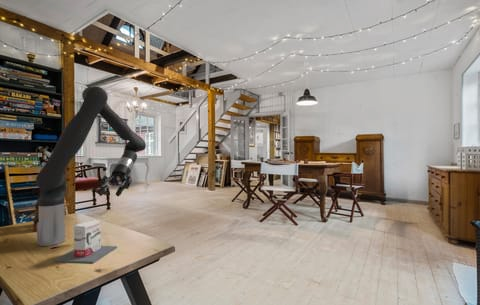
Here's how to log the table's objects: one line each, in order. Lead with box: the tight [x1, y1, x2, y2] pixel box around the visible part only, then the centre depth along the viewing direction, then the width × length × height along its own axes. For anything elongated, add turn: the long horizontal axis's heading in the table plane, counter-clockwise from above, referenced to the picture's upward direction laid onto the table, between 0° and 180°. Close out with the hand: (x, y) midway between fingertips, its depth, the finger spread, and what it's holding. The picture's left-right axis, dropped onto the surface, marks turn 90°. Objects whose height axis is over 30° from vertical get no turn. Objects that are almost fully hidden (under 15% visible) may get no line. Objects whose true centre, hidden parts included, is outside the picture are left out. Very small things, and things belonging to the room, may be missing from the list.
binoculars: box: [32, 188, 41, 233], centre depth 130 cm, size 18×8×20 cm, turn 38°
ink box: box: [73, 219, 102, 257], centre depth 95 cm, size 9×5×12 cm, turn 171°
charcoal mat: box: [52, 245, 118, 264], centre depth 94 cm, size 16×14×1 cm
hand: (108, 195), depth 109 cm, fingers open, 8 cm apart
